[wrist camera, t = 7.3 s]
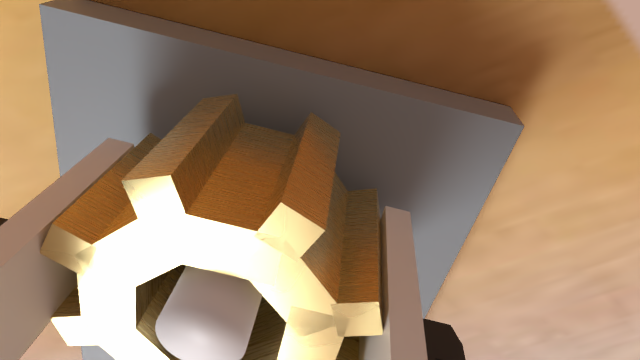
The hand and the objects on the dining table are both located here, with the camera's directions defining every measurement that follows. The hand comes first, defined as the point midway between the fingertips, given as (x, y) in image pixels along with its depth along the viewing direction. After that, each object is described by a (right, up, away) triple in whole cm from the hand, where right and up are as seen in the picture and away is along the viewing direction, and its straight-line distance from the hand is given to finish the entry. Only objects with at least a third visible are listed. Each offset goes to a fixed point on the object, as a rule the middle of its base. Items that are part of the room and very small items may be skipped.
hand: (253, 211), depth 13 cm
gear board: (-1, -2, +5) cm, 5 cm away
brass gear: (0, 0, 0) cm, 0 cm away
